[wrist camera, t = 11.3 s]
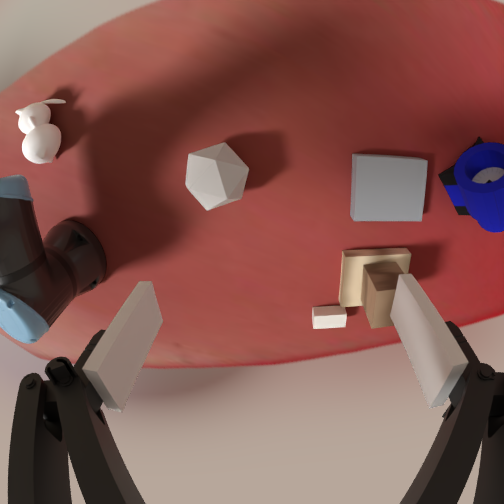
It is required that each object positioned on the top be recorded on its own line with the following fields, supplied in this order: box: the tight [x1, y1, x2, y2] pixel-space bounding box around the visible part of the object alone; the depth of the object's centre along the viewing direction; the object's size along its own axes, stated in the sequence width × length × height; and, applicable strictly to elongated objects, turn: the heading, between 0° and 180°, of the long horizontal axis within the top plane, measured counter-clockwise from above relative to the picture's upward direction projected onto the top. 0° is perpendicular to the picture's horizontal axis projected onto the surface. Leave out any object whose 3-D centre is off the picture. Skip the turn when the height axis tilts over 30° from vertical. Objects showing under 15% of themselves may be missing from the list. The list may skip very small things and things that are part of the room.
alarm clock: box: [439, 137, 504, 232], centre depth 33 cm, size 12×12×15 cm
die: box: [186, 142, 249, 211], centre depth 40 cm, size 8×9×10 cm
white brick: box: [312, 305, 347, 329], centre depth 52 cm, size 6×3×3 cm, turn 94°
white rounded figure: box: [15, 99, 66, 164], centre depth 38 cm, size 9×11×12 cm
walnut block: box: [360, 262, 404, 328], centre depth 44 cm, size 6×7×8 cm
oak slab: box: [339, 248, 411, 307], centre depth 49 cm, size 12×10×3 cm
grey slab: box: [350, 154, 428, 221], centre depth 41 cm, size 12×10×3 cm
